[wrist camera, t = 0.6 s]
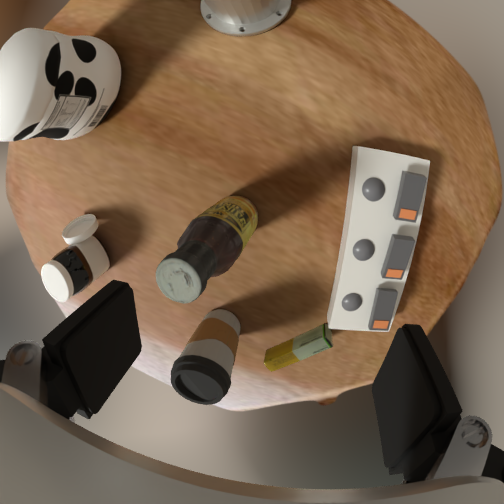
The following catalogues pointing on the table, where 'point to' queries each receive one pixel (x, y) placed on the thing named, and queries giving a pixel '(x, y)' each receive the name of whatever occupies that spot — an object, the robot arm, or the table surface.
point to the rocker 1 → (382, 309)
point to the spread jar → (76, 260)
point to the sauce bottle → (207, 248)
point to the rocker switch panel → (370, 235)
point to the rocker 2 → (409, 196)
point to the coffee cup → (208, 359)
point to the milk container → (55, 85)
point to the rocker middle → (397, 256)
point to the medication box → (299, 348)
